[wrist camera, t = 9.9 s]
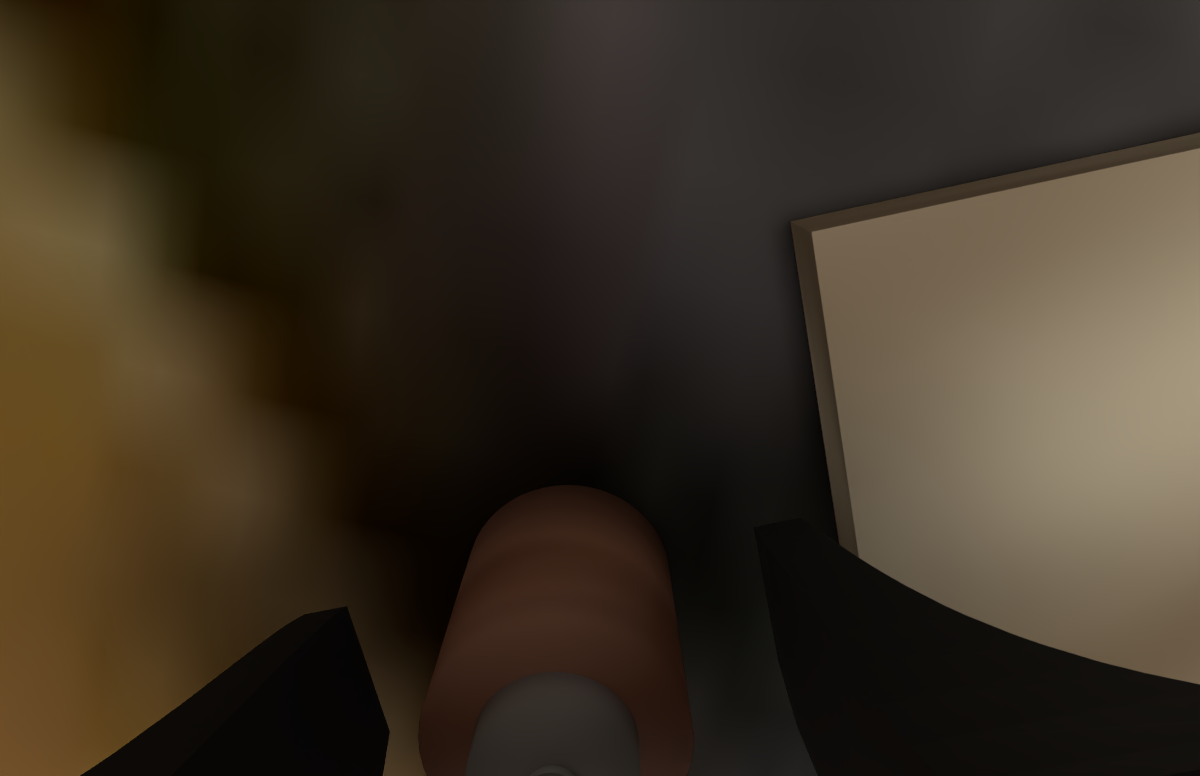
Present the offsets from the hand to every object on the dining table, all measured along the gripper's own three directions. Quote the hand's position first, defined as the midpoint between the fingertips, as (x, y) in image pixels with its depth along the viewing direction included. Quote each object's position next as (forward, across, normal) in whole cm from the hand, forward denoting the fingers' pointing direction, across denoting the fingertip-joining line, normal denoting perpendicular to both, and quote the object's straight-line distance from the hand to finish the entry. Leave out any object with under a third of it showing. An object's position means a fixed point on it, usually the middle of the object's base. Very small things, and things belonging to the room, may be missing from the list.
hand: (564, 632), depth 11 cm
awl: (+1, 0, 0) cm, 1 cm away
